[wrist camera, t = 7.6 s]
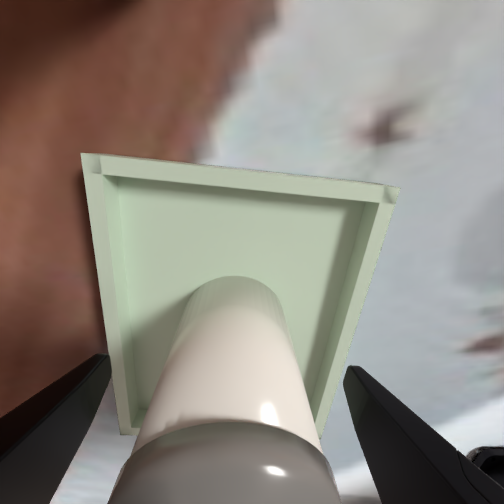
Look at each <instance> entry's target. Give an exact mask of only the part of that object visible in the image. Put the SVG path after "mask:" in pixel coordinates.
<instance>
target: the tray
mask: <svg viewBox="0 0 504 504" xmlns="http://www.w3.org/2000/svg"><path fill="white" fill-rule="evenodd" d="M81 160H82V167H83V174H84V181H85V188H86V195H87V202H88V209H89V216H90V223H91V231H92V238H93V245H94V252H95V259H96V266H97V273H98V280H99V287H100V295H101V302H102V309H103V316H104V323H105V330H106V337H107V344H108V351H109V355H110V359H111V367H112V380H113V387H114V394H115V401H116V408H117V415H118V422H119V430H120V435H138V434H139V432H140V429H141V426H142V423H143V421H144V418H145V415H146V413H147V410H148V407H149V405H150V402H151V399H152V396H153V394H154V391H155V388H156V386H157V383H158V380H159V377H160V375H161V372H162V369H163V367H164V364H165V361H166V359H167V356H168V353H169V350H170V348H171V345H172V342H173V340H174V337H175V334H176V332H177V329H178V326H179V323H180V321H181V318H182V315H183V313H184V310H185V307H186V305H187V302H188V300H189V299H190V297H191V295H192V294H193V293H194V292H195V291H196V290H197V289H198V288H199V287H200V286H202V285H203V284H205V283H207V282H209V281H211V280H213V279H216V278H220V277H224V276H244V277H249V278H252V279H255V280H257V281H260V282H261V283H263V284H265V285H266V286H268V287H269V288H270V289H271V290H272V291H273V292H274V293H275V294H276V296H277V297H278V299H279V300H280V302H281V305H282V308H283V311H284V315H285V319H286V322H287V326H288V329H289V333H290V337H291V340H292V344H293V347H294V351H295V355H296V358H297V362H298V365H299V369H300V373H301V376H302V380H303V384H304V387H305V391H306V394H307V398H308V402H309V405H310V409H311V412H312V416H313V420H314V423H315V427H316V430H317V434H318V438H319V439H321V436H322V433H323V430H324V427H325V424H326V420H327V417H328V414H329V411H330V408H331V405H332V402H333V398H334V395H335V392H336V389H337V386H338V383H339V380H340V376H341V373H342V370H343V367H344V364H345V361H346V358H347V354H348V351H349V348H350V345H351V342H352V339H353V336H354V332H355V329H356V326H357V323H358V320H359V317H360V314H361V310H362V307H363V304H364V301H365V298H366V295H367V292H368V288H369V285H370V282H371V279H372V276H373V273H374V270H375V266H376V263H377V260H378V257H379V254H380V251H381V248H382V244H383V241H384V238H385V235H386V232H387V229H388V226H389V222H390V219H391V216H392V213H393V210H394V207H395V204H396V200H397V197H398V194H399V191H400V188H399V187H394V186H389V185H383V184H378V183H369V182H360V181H350V180H341V179H332V178H323V177H314V176H304V175H295V174H286V173H277V172H268V171H258V170H249V169H240V168H231V167H222V166H212V165H203V164H194V163H185V162H176V161H166V160H157V159H148V158H139V157H130V156H121V155H111V154H94V153H81Z"/></svg>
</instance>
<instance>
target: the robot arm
mask: <svg viewBox="0 0 504 504" xmlns="http://www.w3.org/2000/svg"><path fill="white" fill-rule="evenodd" d="M111 375H112V367H111V359H110V355H109V354H95V355H94V356H92V357H91V358H89V359H88V360H86V361H85V362H83V363H82V364H80V365H79V366H77V367H76V368H74V369H73V370H71V371H70V372H68V373H67V374H65V375H64V376H62V377H61V378H59V379H58V380H56V381H55V382H53V383H52V384H50V385H49V386H47V387H46V388H44V389H43V390H42V391H40V392H39V393H37V394H36V395H34V396H33V397H31V398H30V399H28V400H27V401H25V402H24V403H22V404H21V405H19V406H18V407H16V408H15V409H13V410H12V411H10V412H9V413H7V414H6V415H4V416H3V417H1V418H0V504H49V503H50V501H51V499H52V497H53V495H54V494H55V492H56V490H57V488H58V486H59V484H60V482H61V480H62V478H63V477H64V475H65V473H66V471H67V469H68V467H69V465H70V463H71V462H72V460H73V458H74V456H75V454H76V452H77V450H78V448H79V446H80V445H81V443H82V441H83V439H84V437H85V435H86V433H87V431H88V429H89V427H90V425H91V423H92V421H93V419H94V417H95V414H96V412H97V410H98V407H99V405H100V402H101V400H102V398H103V395H104V393H105V390H106V388H107V386H108V383H109V381H110V378H111ZM343 387H344V391H345V395H346V398H347V402H348V406H349V410H350V413H351V417H352V421H353V424H354V428H355V431H356V434H357V437H358V440H359V442H360V445H361V448H362V450H363V453H364V456H365V459H366V461H367V464H368V467H369V469H370V472H371V475H372V478H373V480H374V483H375V486H376V488H377V491H378V494H379V497H380V499H381V502H382V504H504V449H486V450H483V451H482V452H481V453H480V454H479V455H478V457H477V458H476V460H475V461H474V463H472V462H471V461H470V460H469V459H468V458H466V457H465V456H464V455H463V454H462V453H461V452H459V451H456V448H455V447H453V446H452V445H451V444H450V443H449V442H448V441H446V440H445V439H444V438H443V437H442V436H441V435H439V434H438V433H437V432H436V431H435V430H434V429H432V428H431V427H430V426H429V425H428V424H427V423H425V422H424V421H423V420H422V419H421V418H420V417H418V416H417V415H416V414H415V413H414V412H413V411H412V410H410V409H409V408H408V407H407V406H406V405H405V404H403V403H402V402H401V401H400V400H399V399H398V398H396V397H395V396H394V395H393V394H392V393H391V392H389V391H388V390H387V389H386V388H385V387H384V386H382V385H381V384H380V383H379V382H378V381H377V380H375V379H374V378H373V377H372V376H371V375H370V374H368V373H367V372H366V371H365V370H364V369H363V368H361V367H360V366H352V365H350V366H348V368H347V371H346V374H345V377H344V380H343Z"/></svg>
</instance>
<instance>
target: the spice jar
mask: <svg viewBox="0 0 504 504" xmlns="http://www.w3.org/2000/svg"><path fill="white" fill-rule="evenodd" d="M107 504H342V502H341V499H340V496H339V492H338V489H337V485H336V482H335V478H334V475H333V472H332V469H331V466H330V464H329V462H328V461H327V459H326V458H325V456H324V455H323V452H322V448H321V445H320V441H319V438H318V434H317V430H316V427H315V423H314V420H313V416H312V412H311V409H310V405H309V402H308V398H307V394H306V391H305V387H304V384H303V380H302V376H301V373H300V369H299V365H298V362H297V358H296V355H295V351H294V347H293V344H292V340H291V337H290V333H289V329H288V326H287V322H286V319H285V315H284V311H283V308H282V305H281V302H280V300H279V299H278V297H277V296H276V294H275V293H274V292H273V291H272V290H271V289H270V288H269V287H268V286H266V285H265V284H263V283H261V282H260V281H257V280H255V279H252V278H249V277H244V276H224V277H220V278H216V279H213V280H211V281H209V282H207V283H205V284H203V285H202V286H200V287H199V288H198V289H197V290H196V291H195V292H194V293H193V294H192V295H191V297H190V299H189V300H188V302H187V305H186V307H185V310H184V313H183V315H182V318H181V321H180V323H179V326H178V329H177V332H176V334H175V337H174V340H173V342H172V345H171V348H170V350H169V353H168V356H167V359H166V361H165V364H164V367H163V369H162V372H161V375H160V377H159V380H158V383H157V386H156V388H155V391H154V394H153V396H152V399H151V402H150V405H149V407H148V410H147V413H146V415H145V418H144V421H143V423H142V426H141V429H140V432H139V434H138V437H137V440H136V442H135V445H134V448H133V450H132V453H131V456H130V458H129V459H128V460H127V461H126V462H125V464H124V465H123V467H122V468H121V470H120V473H119V475H118V477H117V480H116V483H115V485H114V488H113V490H112V493H111V496H110V498H109V501H108V503H107Z"/></svg>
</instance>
